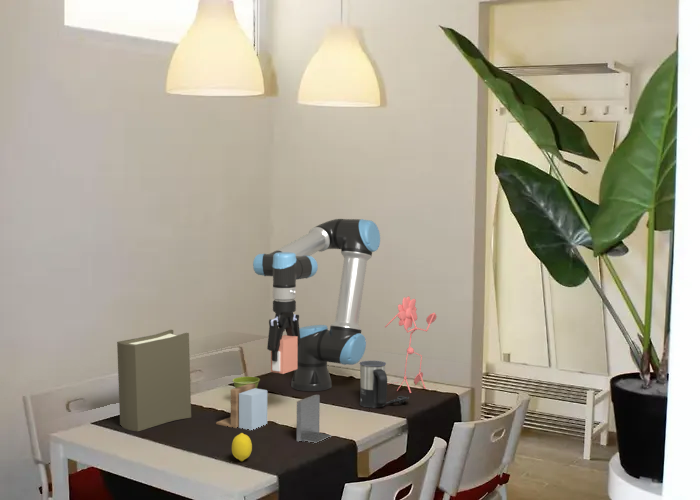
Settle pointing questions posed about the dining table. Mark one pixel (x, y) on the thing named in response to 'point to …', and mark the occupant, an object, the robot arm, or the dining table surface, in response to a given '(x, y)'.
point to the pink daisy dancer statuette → (406, 318)
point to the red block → (287, 354)
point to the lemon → (241, 447)
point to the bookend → (309, 420)
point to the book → (154, 380)
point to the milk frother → (374, 385)
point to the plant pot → (245, 381)
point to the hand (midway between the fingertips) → (284, 368)
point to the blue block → (252, 409)
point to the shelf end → (235, 406)
